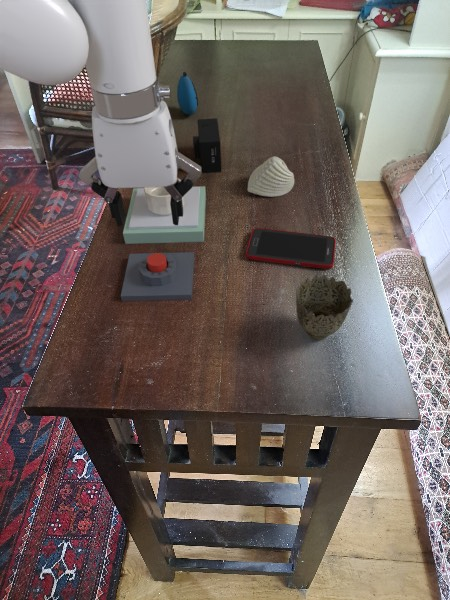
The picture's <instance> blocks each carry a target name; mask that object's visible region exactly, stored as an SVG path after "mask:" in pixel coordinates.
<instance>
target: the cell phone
mask: <svg viewBox="0 0 450 600" xmlns="http://www.w3.org/2000/svg"><path fill="white" fill-rule="evenodd" d="M249 236H250V237H249V239H248V243H247V246H246V250H245V258H246V259H247V260H250V261H251V260H252V261H260V262H267V263H275V264H283V265H292V266H301V267H307V268H314V269H323V270H330V269H331V270H332V269H333V268H334V265H335V258H336V257H335V255H336V246H337V245H336V244H337V243H336V241H337V240H336V238H335V237H334V236H331V235H322V234H316V233H315V234H313V233H304V232H298V231H297V232H295V231H287V230H278V229H270V228H260V227H255V228H253V229H252V230H251V233H250V235H249Z"/></svg>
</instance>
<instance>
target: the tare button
mask: <svg viewBox="0 0 450 600" xmlns="http://www.w3.org/2000/svg"><path fill="white" fill-rule="evenodd" d="M153 253H154V254H152V255H150V256H149V257H148V258H147V264H148V269H149V270H150V271H151V272H153V273H158V272H162V271H164V270H165V269H166V268H167V262H166V257H165V255H163V254H161V253H162V252H153Z"/></svg>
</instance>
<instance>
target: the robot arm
mask: <svg viewBox="0 0 450 600" xmlns="http://www.w3.org/2000/svg"><path fill="white" fill-rule="evenodd" d="M152 42H153V41H152V35H151V28H150V19H149V12H148V4H147V0H0V70H3V71H4V72H6V73H9V74H11V75H14V76H16V77H18V78H20V79H23V80H24V81H28V82H30V83H34V84H37V85H43V86H59V85H60V86H61V85H64V84H67V83H70V82H71V81H72V80H74V79H76V78H77V77H78V76H79V75H80V73H82V71H83V69H84V68H85V69H86V73H87V77H88V81H89V86H90V91H91V95H92V99H93V102H94V103H93V104H94V105H93V106H92V110H91V129H92V139H93V146H94V154H95V156H94V157H93V158H92V159H90V161H89V162H87V163H86V164H85V165H84V166H83V167H82V168H81V169H80V170H79V173H78V175H77V176H78V179H79V180H80V181H82V182H83V183H84V184H85V185H87V187H90V189H91V191H92V192H94V193H96V194H97V195H98V196H100V197H101V198H102V199H103V201H104V202H105V203H106V204H108V207H109V212H110V215H111V219H115V222H116V226H117V227H118V228H121V227H122V226H124V224H125V220H126V210H125V205H124V200H123V196H122V193H121V192H120V191H119V189H133V188H145V187H164V188H165V189H166V191H167V192H168V193H169V194H170V195H171V200H170V206H171V213H172V220H173V224H174V225H178V223H179V217H183V203H182V197H183V196H184V195H185V194H186V193H187V192H188V191H189V190H190V189H191V188H192V187H194V185H195V184H196V182H198V180H199V179H200V177H201V176H202V174H203V173H202V168H201V165H199V164H198V163H196V162H194V161H193V160H191V159H190V158H189V157H187V156H185V155H184V154H182V153H181V152H179V151H178V145H177V139H176V134H175V129H174V124H173V121H172V117H171V113H170V110H169V107H168V104H167V103H166V101H164V100H165V99H171V98H172V92H171V91H172V90H171V85H164V84H161V82H160V81H159V78H158V76H157V72H156V64H155V58H154V50H153V43H152ZM179 169H181V170H182V171H184V172H186V173H187V175H185V176H184V177H183V178H182V179H180V180H181V181H179V180H178V170H179ZM97 172H98V175H99V177H97V175H95V174H96V173H97Z"/></svg>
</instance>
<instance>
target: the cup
mask: <svg viewBox="0 0 450 600" xmlns="http://www.w3.org/2000/svg"><path fill="white" fill-rule="evenodd" d="M351 295H352V289H351V288H350V287H349V288H348V285H347V283H346V282H345V281H344V280H339V281H337V280H336V278H335V276H331V277H330V278H329V279H328V277H327V275H320V276H319V275H318V274H316V275H315V277H313V278H312V279H310V278H309V277H307V278H306V280H305V282H304V281H301V282H300V281H299V284H298V286H297V288H296V289H295V296H296V297H295V300H296V302H295V304H296V305H295V306H296V316H297V320H298V323H299V325H300V326H301V328H302V329H303V330H304V331H305V332H306V335H307V336H309V338H311V339H313V340H316V341H322V340H325V339H327V338H328V337H329V336H331V335H333V334H335V333H336V332H338V330H340V328H341V327H342V326H343V324H344V322H345V320H346V318H347V316H348V314H349V311H350V310H351V307H352V305H353V303H354V299H352V297H351Z"/></svg>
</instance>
